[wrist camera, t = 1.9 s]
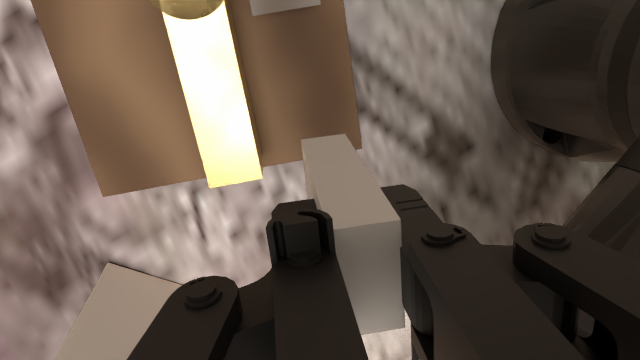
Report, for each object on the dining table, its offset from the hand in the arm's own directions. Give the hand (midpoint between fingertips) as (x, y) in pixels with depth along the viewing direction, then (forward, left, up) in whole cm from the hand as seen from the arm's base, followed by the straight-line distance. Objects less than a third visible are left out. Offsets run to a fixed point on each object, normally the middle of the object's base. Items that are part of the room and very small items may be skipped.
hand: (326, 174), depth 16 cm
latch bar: (+4, -3, -14) cm, 15 cm away
